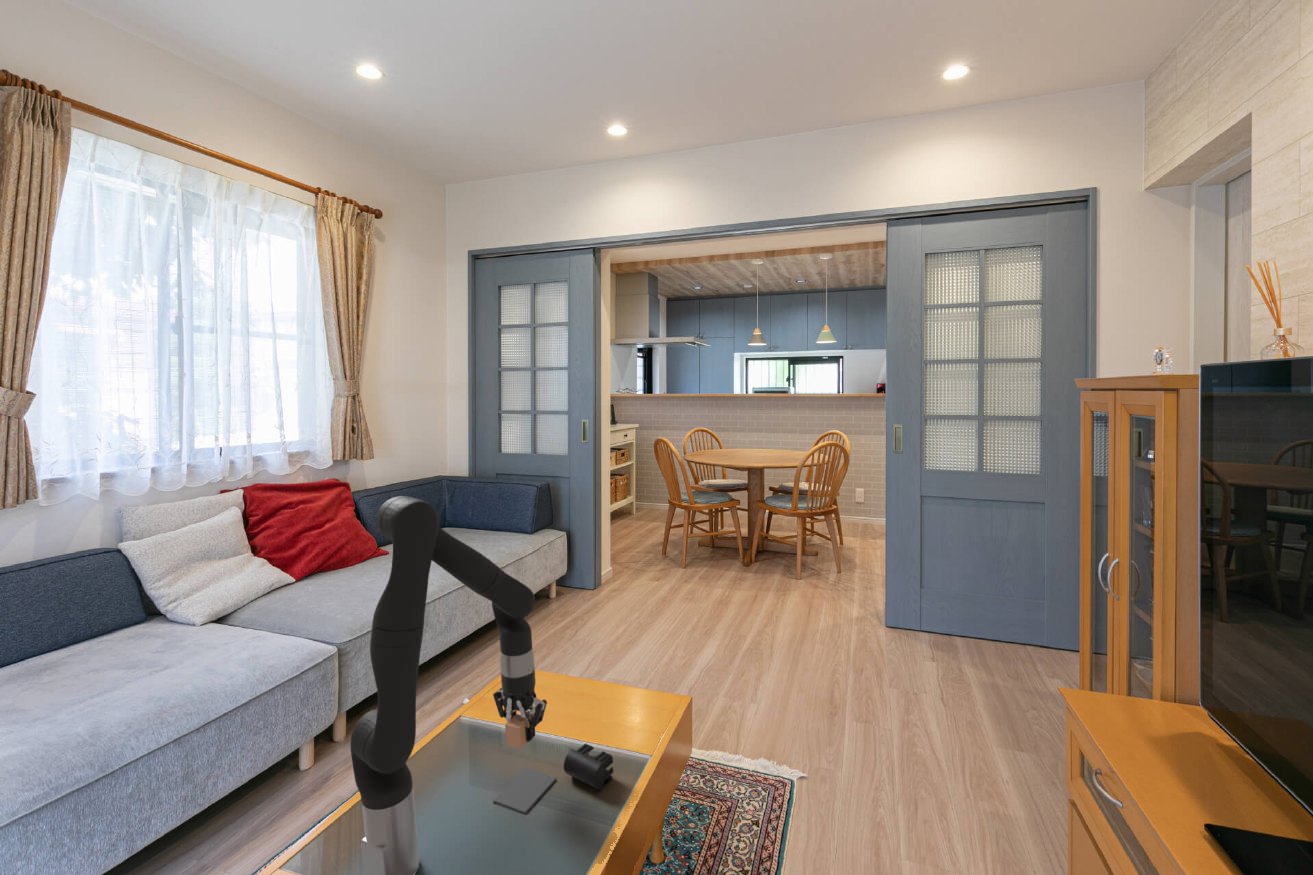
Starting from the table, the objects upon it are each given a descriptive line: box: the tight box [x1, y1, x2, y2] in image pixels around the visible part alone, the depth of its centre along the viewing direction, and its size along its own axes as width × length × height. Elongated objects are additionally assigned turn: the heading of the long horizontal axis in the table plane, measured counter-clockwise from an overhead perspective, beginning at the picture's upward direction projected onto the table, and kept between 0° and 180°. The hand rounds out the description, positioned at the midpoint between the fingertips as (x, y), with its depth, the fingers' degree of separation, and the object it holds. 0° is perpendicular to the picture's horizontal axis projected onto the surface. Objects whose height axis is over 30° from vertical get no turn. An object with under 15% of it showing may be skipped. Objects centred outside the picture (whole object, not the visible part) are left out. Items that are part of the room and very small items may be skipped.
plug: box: [504, 711, 530, 750], centre depth 144 cm, size 9×4×5 cm, turn 155°
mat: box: [492, 767, 557, 815], centre depth 145 cm, size 12×9×1 cm
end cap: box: [563, 743, 614, 791], centre depth 147 cm, size 10×7×7 cm
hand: (522, 736), depth 143 cm, fingers closed on plug, 4 cm apart
